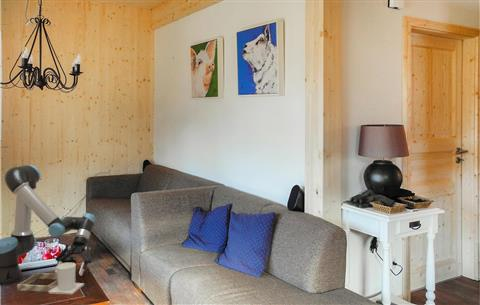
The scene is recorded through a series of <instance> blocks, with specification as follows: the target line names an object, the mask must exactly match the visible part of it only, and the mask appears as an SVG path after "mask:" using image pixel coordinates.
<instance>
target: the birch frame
mask: <svg viewBox="0 0 480 305" xmlns="http://www.w3.org/2000/svg"><path fill="white" fill-rule="evenodd" d="M40 279H41V280H54V281H53V282H51V283H49V284H48V285H44V284H41V285H40V284H31V283H34V282H35V281H36V280H40ZM57 285H58V280H57V274H56V273H53V272H52V273H51V272H48V273H47V272H46V273H45V272H36V273H34V274H33V275H32V276H29V277H27V278H26V279H25V280H23V281H21V282H20V283H18V284H17V286H16V287H17V288H16V289H17V291H21V292H23V291H25V292H44V293H46V292H47V293H49V291H50V290H52V289H53V288H54V287H56V286H57Z"/></svg>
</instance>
